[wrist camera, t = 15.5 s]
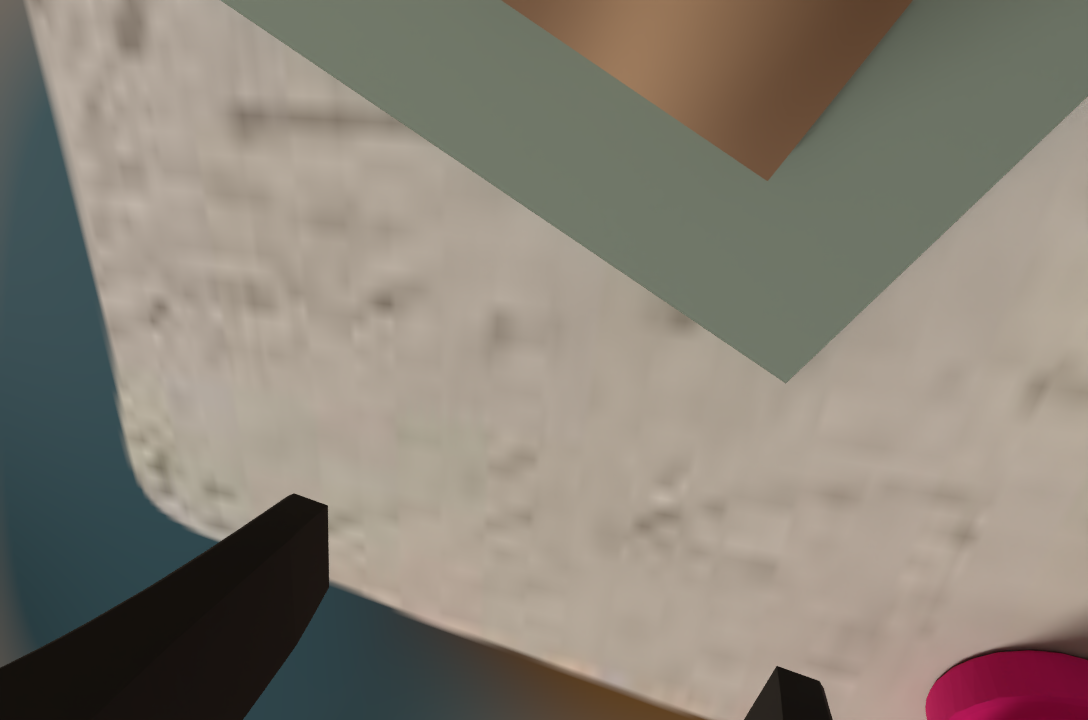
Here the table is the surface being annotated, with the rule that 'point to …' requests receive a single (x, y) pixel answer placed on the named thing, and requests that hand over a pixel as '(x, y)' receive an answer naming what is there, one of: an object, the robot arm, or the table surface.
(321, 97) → the table surface
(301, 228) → the table surface
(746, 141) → the lid
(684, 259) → the mat
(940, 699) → the pepper mill
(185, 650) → the robot arm
